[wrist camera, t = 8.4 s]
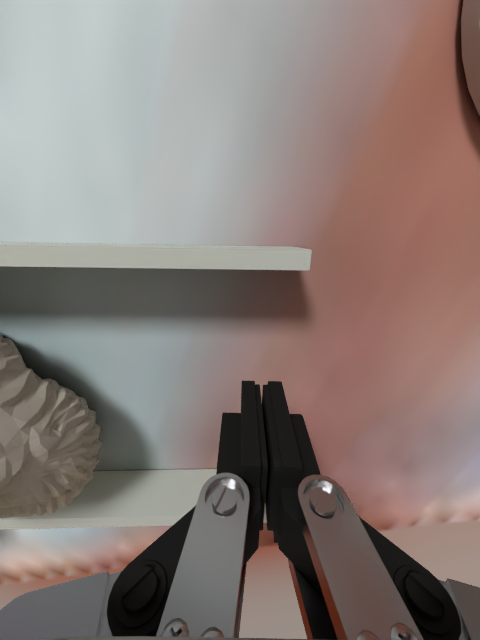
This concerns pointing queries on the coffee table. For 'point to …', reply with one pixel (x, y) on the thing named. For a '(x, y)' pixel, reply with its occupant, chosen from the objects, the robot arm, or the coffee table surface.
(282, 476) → the robot arm
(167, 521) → the channel
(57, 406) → the fossil replica
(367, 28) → the coffee table surface
